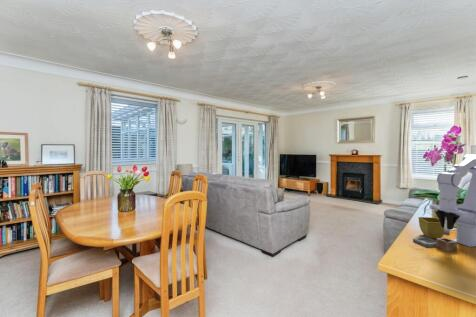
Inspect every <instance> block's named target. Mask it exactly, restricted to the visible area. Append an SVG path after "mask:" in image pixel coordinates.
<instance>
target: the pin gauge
mask: <svg viewBox="0 0 476 317" xmlns="http://www.w3.org/2000/svg"><path fill="white" fill-rule="evenodd" d="M450 233H451V229H450V230H449V229H447V219H446V217H444V235H445V236H450V235H451V234H450ZM444 235H443V236H444Z"/></svg>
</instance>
